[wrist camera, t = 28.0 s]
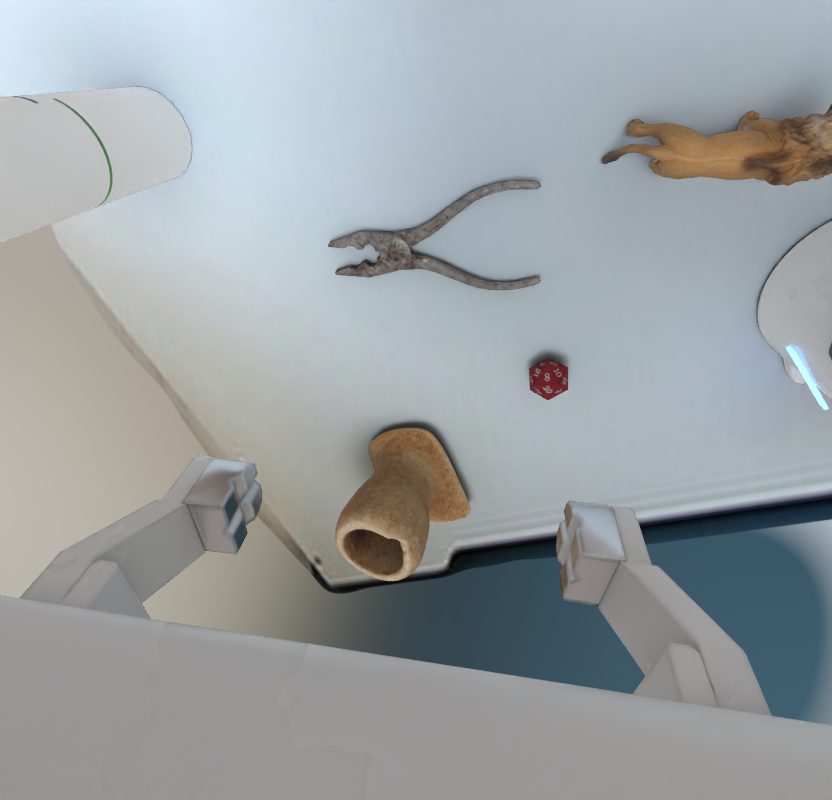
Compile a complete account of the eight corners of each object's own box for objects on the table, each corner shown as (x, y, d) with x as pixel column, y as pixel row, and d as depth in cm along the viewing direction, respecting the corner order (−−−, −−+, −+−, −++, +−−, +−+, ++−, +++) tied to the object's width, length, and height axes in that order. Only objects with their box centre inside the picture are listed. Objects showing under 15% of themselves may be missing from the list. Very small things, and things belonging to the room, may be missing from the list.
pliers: (559, 279, 43) (363, 333, 49) (558, 275, 43) (365, 329, 49) (537, 169, 38) (322, 244, 44) (536, 166, 38) (324, 241, 44)
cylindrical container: (104, 77, 39) (-311, 97, 19) (187, 97, 39) (-138, 138, 19) (120, 169, 43) (-204, 264, 23) (195, 187, 43) (-63, 298, 23)
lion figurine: (822, 76, 33) (914, 82, 26) (803, 159, 36) (881, 185, 28) (600, 124, 36) (627, 141, 29) (599, 196, 39) (623, 228, 32)
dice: (518, 367, 50) (520, 388, 47) (555, 344, 48) (559, 365, 44) (538, 390, 51) (541, 412, 48) (575, 369, 49) (580, 391, 46)
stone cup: (347, 433, 59) (309, 529, 47) (435, 414, 55) (419, 513, 43) (392, 512, 67) (370, 612, 55) (473, 500, 63) (468, 604, 51)
